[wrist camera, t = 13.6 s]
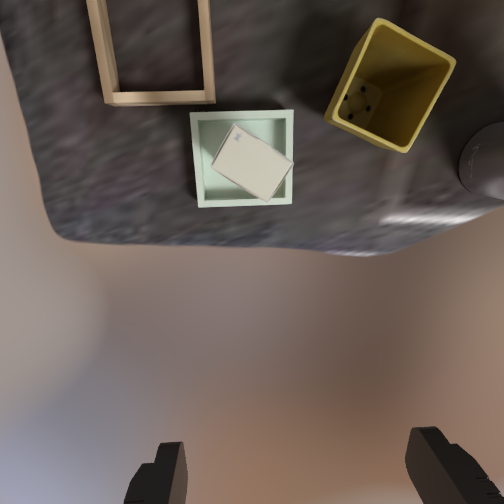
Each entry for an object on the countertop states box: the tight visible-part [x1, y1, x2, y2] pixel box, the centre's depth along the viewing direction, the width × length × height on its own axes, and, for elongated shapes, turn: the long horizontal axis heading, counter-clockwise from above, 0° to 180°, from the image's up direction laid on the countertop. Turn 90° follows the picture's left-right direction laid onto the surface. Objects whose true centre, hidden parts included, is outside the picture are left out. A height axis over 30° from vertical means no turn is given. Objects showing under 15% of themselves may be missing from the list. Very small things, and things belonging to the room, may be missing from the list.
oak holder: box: [86, 0, 216, 106], centre depth 30 cm, size 12×13×2 cm
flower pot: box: [324, 18, 456, 153], centre depth 31 cm, size 9×9×9 cm
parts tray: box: [190, 110, 293, 207], centre depth 35 cm, size 12×11×3 cm
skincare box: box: [210, 123, 294, 203], centre depth 30 cm, size 6×4×12 cm
